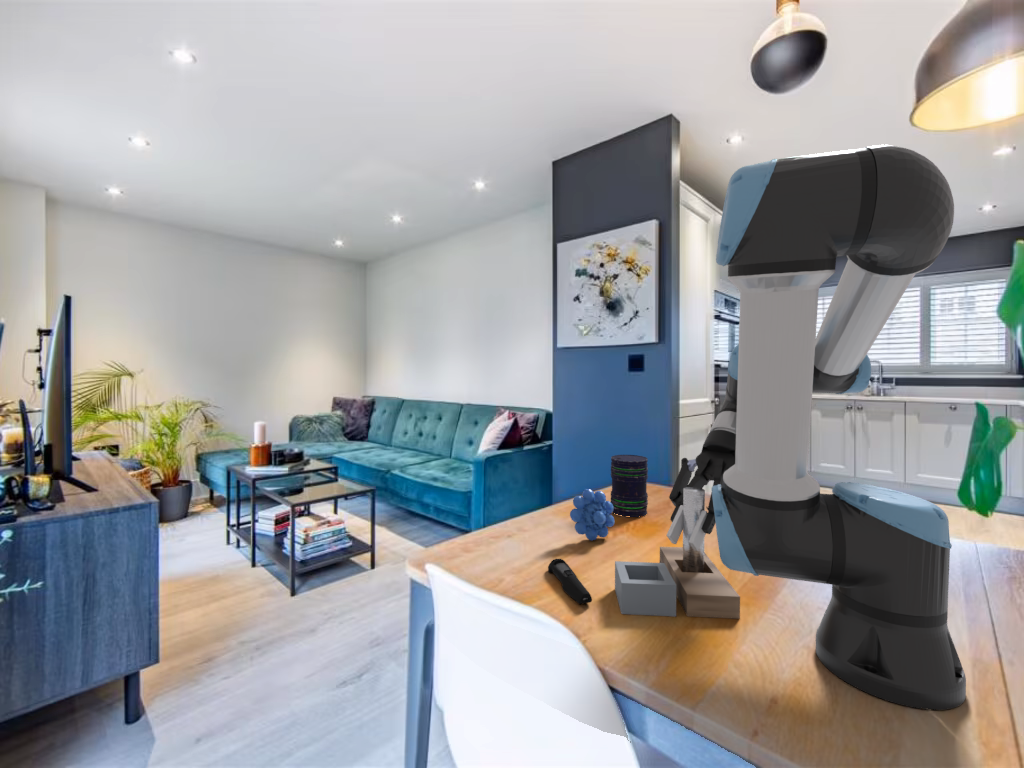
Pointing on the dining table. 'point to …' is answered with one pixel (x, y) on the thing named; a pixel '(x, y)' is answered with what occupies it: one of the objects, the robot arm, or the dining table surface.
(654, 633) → the dining table surface
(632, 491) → the dark blue ridged cylinder
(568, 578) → the electric trimmer
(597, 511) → the blue lobed rosette
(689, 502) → the axle
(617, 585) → the block
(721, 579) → the beam
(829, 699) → the dining table surface
